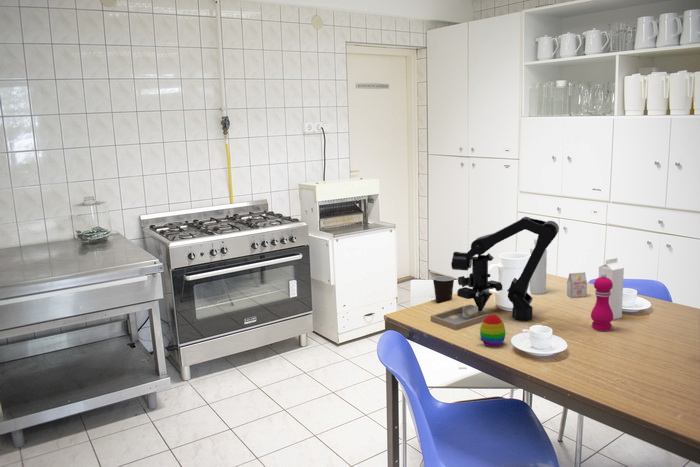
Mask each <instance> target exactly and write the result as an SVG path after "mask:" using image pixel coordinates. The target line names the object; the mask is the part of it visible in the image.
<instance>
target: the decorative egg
mask: <svg viewBox="0 0 700 467" xmlns="http://www.w3.org/2000/svg"><path fill="white" fill-rule="evenodd" d="M479 336H480V339H481V340H482V341H483V344H484V345H486V346H489V347H499V346H501V345H502V344H503V343H504V341H505V338H506V327H505V325H504V322H503V320H502V318H500V317H499V316H498V315H497V314H489V316H487V317H486V318H485V319H484V321H483V322H481V325H480V330H479Z"/></svg>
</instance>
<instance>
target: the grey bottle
mask: <svg viewBox="0 0 700 467" xmlns="http://www.w3.org/2000/svg"><path fill="white" fill-rule="evenodd" d="M537 238H538V237H535V238H534V239H533V240H534V242H533V243H534V246H533V247H531V249H529V250H530V251H529V252H530V253H529V255H530V254H532V252H533V250H534V248H535V246H536V243H537ZM547 252H548V251H547V249H546V250H545V252H544V254H543V256H542V258H541V260H540V261H539V263H538V265H537V267H536V269H535V271H534V273H533V275H532V277H531V279H530V282H529V292H530V291H531V293H530V294H532V295H536V296H537V295H538V296H539V295H545V294H546V293H547V260H548V259H547V254H548V253H547Z"/></svg>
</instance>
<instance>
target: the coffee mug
mask: <svg viewBox="0 0 700 467" xmlns="http://www.w3.org/2000/svg"><path fill="white" fill-rule="evenodd" d="M432 281H433V289H434V295H435V302H436V304H443V303H445V302H450V301H452V300H453V291H454V283H455V277H453V276H450V275H437V276H434V277H433V278H432Z"/></svg>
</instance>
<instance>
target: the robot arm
mask: <svg viewBox="0 0 700 467" xmlns="http://www.w3.org/2000/svg"><path fill="white" fill-rule="evenodd" d="M524 230H526V231H528V232H531V233H533V234H536V235H537V237H536V238H537V243H536V246H535V245H534V247H535V248H534V250H533V252H532V254H531V256H530V255H529V258H528V260H527V262H526V264H525V266H524V267H523V270H522V272H521V274H520V276H519V277H518V278H516V277H514V278H513V280H512V281H511V283H510V286H509V287H508V288H507V290H506V291H507V292H508V293H507V298H508V299H507V300H509V302H511V303H512V309H511V312H512V313H511V314H512V315H511V316H512V318H514V319H515V320H516V321H520V322H529V321H532V320H533V306H532V305H531V304H532V301H533V299H534V298H533V297H532V296H531V295H530V294H529V293H528V289H529V288H530V279H531V277H532V275H533V273H534V271H535V269H536V267H537V265H538V263H539V261H540V260H541V258H542V256H543V254H544V252H545V250H547V248H548V247H549V246H550V244H552V242H553V241H554V239H555V238H556V236H557V235H558V233H559V231H560V226H559V224H558V223H557V222H555V221H553V220H547V221H545V220H541V219H535V218H532V217H530V216H529V217H528V216H524V217H522V218H521V219H519V220H517V221H515V222H513V223H510V225H507V226H505V227H503V228H501V229H499V230H497V231H495V232H493V233H490V234H485V235H482V236H479V237H477V238H476V239H474V240H473V241H471V243H470V249H469V250H468V251H467V252H462V251H461V252H460V251H453V253H452V258H451V263H450V264H451V269H452V270H453V271H469V269H471V271H472V272H471V273H469V275H468V277H465V276H464V275H462V276H459V277H457V283H458V286H461V288H458V289H457V293H456V294H457V297H459V298H463V299H466V300H470V299H473V301H474V303H475V306H477V307H478V313H481V312H483V310H484V308H485V306H486V304H487V302H488V301H489V299H490V297H491V296H492V295H493V292H490V290H493V289H494V290H495V291H496V292H500V291H502V290H503V284H502V282H500V281H495V280H492V279H491V280H489V278H490V277H491V274H490V273H489V262H492V261H493V260H494V259H495V258H494V256H493V255H492V254H491V253H490V252H488V253H487V255H486V252H487V251H489V250H490V249H491V248H493V247H494V246H495V245H496V244H498V243H500V242H502V241H504V240H506V239H509V238H510V237H512V236H514V235H516V234H518V233H520V232H522V231H524ZM476 255H477V256H476Z"/></svg>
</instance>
